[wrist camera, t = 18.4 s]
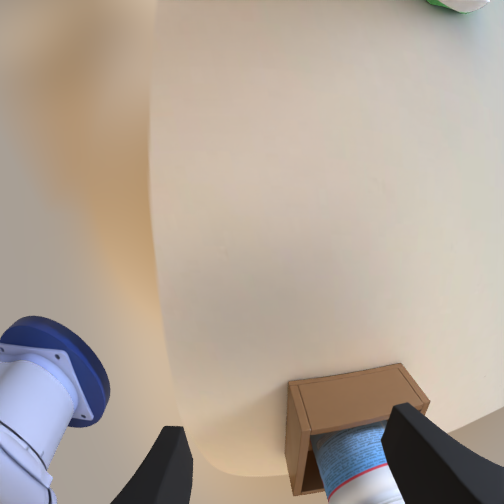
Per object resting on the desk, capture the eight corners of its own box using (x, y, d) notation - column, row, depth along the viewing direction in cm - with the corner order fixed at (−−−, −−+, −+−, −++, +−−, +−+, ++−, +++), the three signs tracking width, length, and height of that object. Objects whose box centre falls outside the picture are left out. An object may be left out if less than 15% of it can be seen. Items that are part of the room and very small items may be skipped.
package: (284, 453, 23) (293, 496, 19) (288, 381, 21) (301, 431, 16) (378, 435, 24) (396, 472, 19) (401, 362, 21) (430, 401, 17)
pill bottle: (293, 436, 22) (321, 552, 11) (331, 385, 21) (384, 512, 10) (351, 442, 23) (390, 540, 12) (389, 395, 22) (450, 497, 11)
